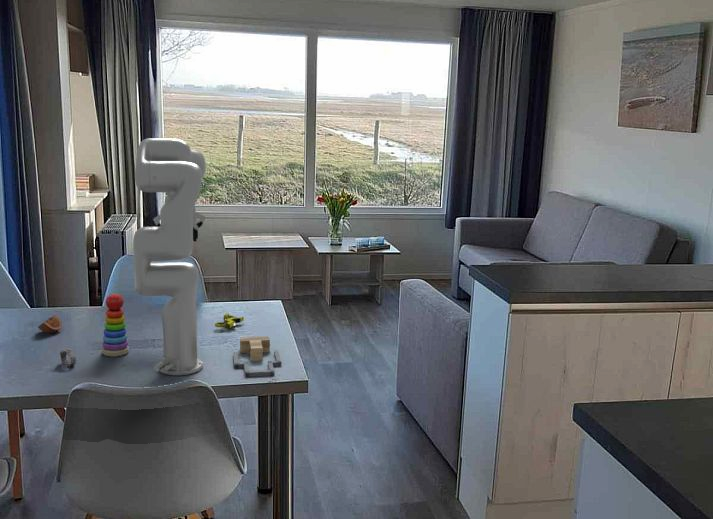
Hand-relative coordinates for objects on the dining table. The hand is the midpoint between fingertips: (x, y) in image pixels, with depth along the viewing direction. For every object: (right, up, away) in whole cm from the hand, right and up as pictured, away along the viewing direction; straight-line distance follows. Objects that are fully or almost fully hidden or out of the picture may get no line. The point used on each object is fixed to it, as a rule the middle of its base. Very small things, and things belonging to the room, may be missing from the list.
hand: (180, 241), depth 234 cm
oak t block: (+29, -36, -21) cm, 50 cm away
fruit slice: (-41, -30, -6) cm, 52 cm away
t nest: (+31, -38, -30) cm, 57 cm away
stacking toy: (-14, -35, -23) cm, 44 cm away
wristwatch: (-24, -37, -34) cm, 56 cm away
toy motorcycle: (+16, -30, +5) cm, 34 cm away
